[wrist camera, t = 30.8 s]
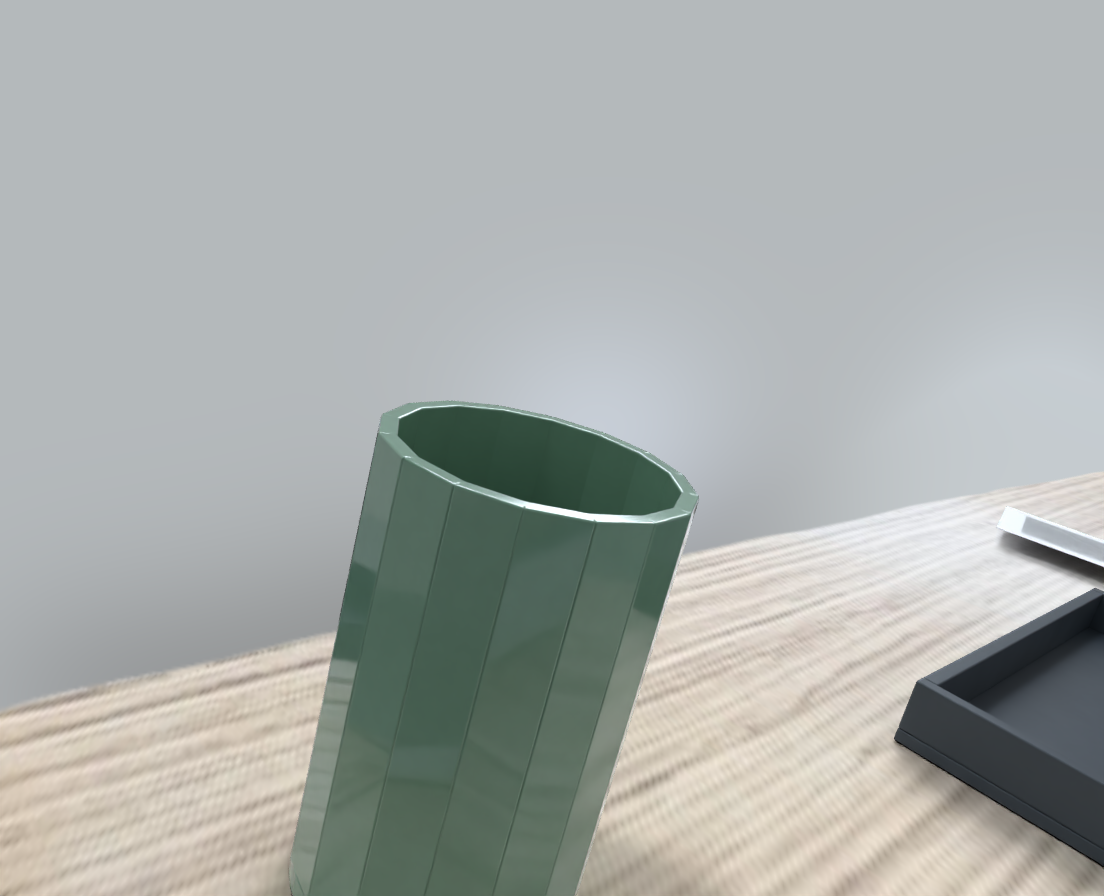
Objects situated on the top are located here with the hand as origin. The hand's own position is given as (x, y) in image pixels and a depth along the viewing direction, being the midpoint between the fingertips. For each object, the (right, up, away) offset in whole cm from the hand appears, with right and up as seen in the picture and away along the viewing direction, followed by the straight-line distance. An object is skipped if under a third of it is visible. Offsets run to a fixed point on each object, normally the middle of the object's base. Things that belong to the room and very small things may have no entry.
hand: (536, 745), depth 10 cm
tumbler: (-3, -7, +14) cm, 16 cm away
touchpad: (+38, -5, +56) cm, 68 cm away
